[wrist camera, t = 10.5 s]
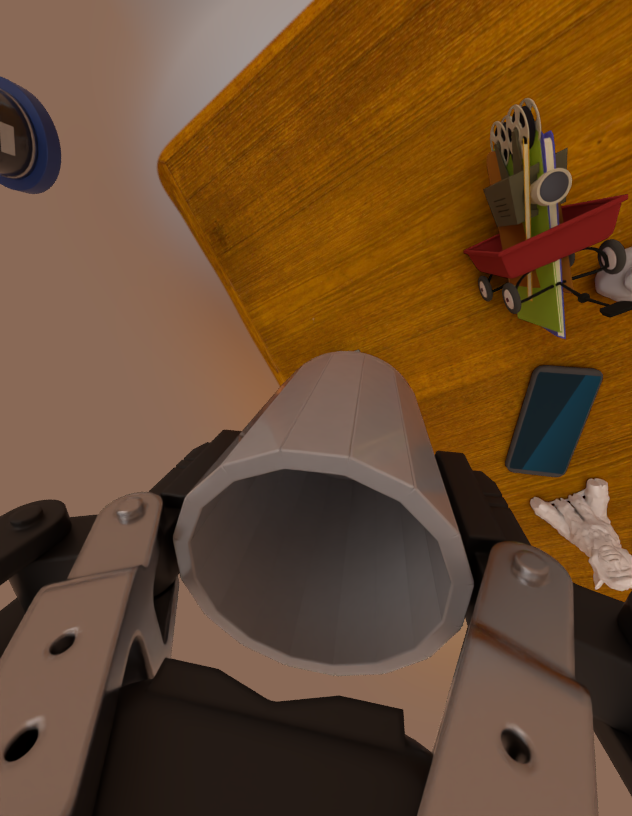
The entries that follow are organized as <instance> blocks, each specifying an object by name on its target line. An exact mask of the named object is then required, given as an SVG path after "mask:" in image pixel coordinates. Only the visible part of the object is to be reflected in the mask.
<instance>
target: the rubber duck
mask: <svg viewBox="0 0 632 816" xmlns="http://www.w3.org/2000/svg"><path fill="white" fill-rule="evenodd" d="M625 252H626V264H625V267H624V268H623V270H622V271H621V272H619V273H618V274H613V275H611V274H608V273H606V272H605V271H604V270H603V271H600V272H598V273H597V275H596V277H595V288H596V291H597V293H599V294H601V295H603V296H605V297H608V298H611V299H612V300H615V301H618V302H619V301H632V247H629V248H626V249H625Z"/></svg>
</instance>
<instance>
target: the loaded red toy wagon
mask: <svg viewBox="0 0 632 816" xmlns="http://www.w3.org/2000/svg"><path fill="white" fill-rule="evenodd" d="M524 102H525V103H526V106H523V107H522V104H523V103H524ZM532 106H533V107H534V109H535V111H536V114H537V120H536V121H535V122H534V118H533V115H532V113H531V107H532ZM513 108H514V110H515V112H514V114H513V117H511V116H510V113H511V110H512V109H513ZM505 118H506V122H504V119H505ZM503 122H504V123H503ZM495 124H496V125H497V128H496V131H495V134H494V132H493V128H494V126H495ZM492 141H494V143H495V145H494V151H493V146H492ZM490 143H491V150H492V152H489V154H488V155H487V170H488V175H489V181H490V186H489V187H487V188H485V189H483V190H484V193H485V196H486V198H487V201H488V204H489V206H490V209H491V211H492V214H493V217H494V219H495V222H496V225H497V227H498V228H499V234H497V235H495V236H493V237H491V238H489V239H487V240H484V241H482V242H480V243H478V244H476V245H474V246H472V247H470V248H468V249H465V250H464V254H468V255H469V257H470V258H471V260H472V262H473V263H474V265H475V266H476V268H477V269H478V270H479V271H481V272H485V273H489V274H490V276H489V278H488V279H487V277H486V276H480V277H479V279H478V285H479V289H480V292H481V295H482V297H483V298H484V300H486V301H490V300H492V297H493V292H496V291H498V290H500V289H502V295H503V299H504V302H505V305H506V307H507V309H508V310H509V311H510V312H511V313H513V314H517V315H518V318H519V319H522V320H525V321H528V322H531V323H533V324H536V325H539V326H542V327H543V328H545V329H546V330H548V331H549V332H551V333H552V334H554V335H555V336H557V337H561V338H564V339H566V337H565V319H564V301H563V292H566V293H573V294H574V295H576V296H577V297H578V301H579V302H581V303H585V302H587V301H590V302H593V303H597V304H600V305H604V306H606V307H603V308H600V312H601V313H602V315H604V316H607V317H613V316H616V315H619V314H621V313H624V312H627V311H630V310H632V301H619V302H617V303H614V304H611V305H609V304H606V303H603V302H599V301H596V300H593V299H590V296H589V294H587V293H583V294H580V293H578V292H576V291H575V290H573V283H572V280H575V279H578V278H581V277H584V276H588V275H591V274H594V273H597V272H600V271H603V270H604V271H605V272H606V273H608V274H611V275H613V274H618V273H619V272H621V271H622V270H623V268H624V267H625V264H626V252H625V249H624V247H623V246H622V244H621V243H620V242H618V241H616V240H613V239H610V240H606V241H605V242H603V243H602V244H601V246H600V248H599V249H598V248H594V247H589V246H591V245H594V244H596V243H598V242H601V241H603V240H605V239H607V238H608V237H609V236H610V235H611V234H612V233H613V230H614V228H615V224H616V221H617V217H618V214H619V210H620V206H621V202H623V201H625V200H627V199H628V194H625V195H620V196H614V197H609V198H603V199H598V200H593V201H587V202H582V203H576V204H571V205H565V206H561V204H562V203H564V202H566V195H567V194H568V192H569V190H570V188H571V184H572V177H571V174H570V173H569V171H568V170H567V148H566V149H564V150H562V151H559V152H557V153H555V146H554V137H553V133H552V131H549V132H547V133H545V134H544V135H543V133H542V131H541V121H540V116H539V112H538V109H537V106H536V104H535V103H534V101H533V100H532V99H530V98H526V99H524V100H522V102H521V103H520V105H513V106H512V107H511V108H510V109H509V112H508V115H507V116H505V117H504V118H503V119H502V121H501V122H499V121H496V122H494V124H493V125H492V128H491V134H490ZM586 249H589V250H594V251H596V252H598V261H599V264H600V266H601V268H600V269H597V270H594V271H591V272H587V273H584V274H581V275H577V276H574V277H572V276H571V270H570V267H571V266H572V265H573V263H574V260H575V252H578V251H581V250H586ZM492 275H497V276H501V277H505V278H508V281H509V282H507V283H505V284H503V285H502V286H500V287H498V288H496V289H494V290H492V288H491V285H490V280H491V277H492Z"/></svg>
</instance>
